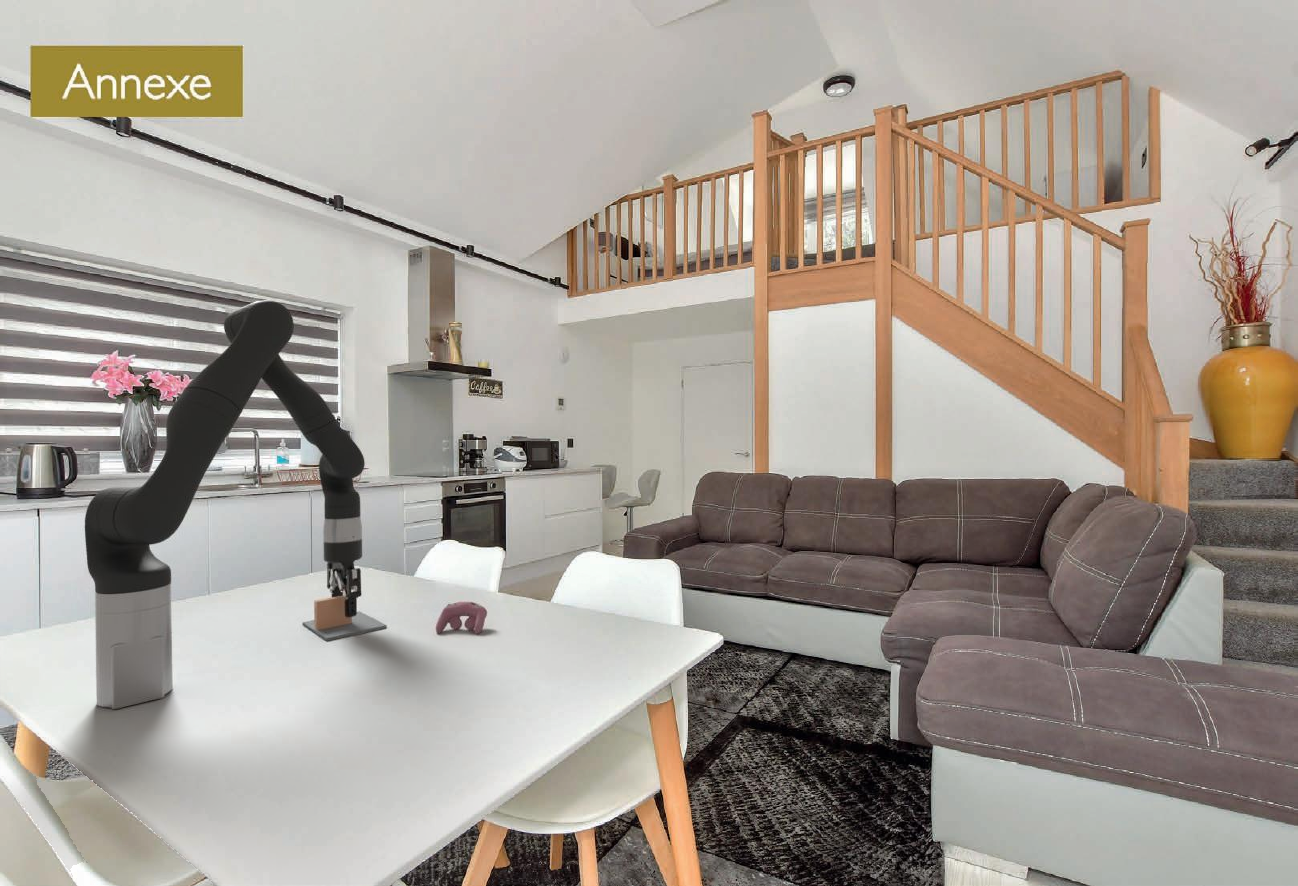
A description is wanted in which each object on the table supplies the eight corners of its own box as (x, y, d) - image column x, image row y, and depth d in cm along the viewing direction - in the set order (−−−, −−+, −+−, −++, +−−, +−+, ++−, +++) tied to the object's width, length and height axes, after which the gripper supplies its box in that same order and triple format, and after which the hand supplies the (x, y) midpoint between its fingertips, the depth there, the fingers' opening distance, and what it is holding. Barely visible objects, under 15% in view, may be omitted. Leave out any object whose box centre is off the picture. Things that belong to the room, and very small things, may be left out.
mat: (386, 627, 131) (386, 625, 131) (326, 641, 123) (326, 638, 123) (359, 613, 142) (359, 611, 142) (302, 625, 134) (302, 622, 134)
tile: (351, 595, 133) (316, 601, 128) (351, 623, 133) (316, 630, 128) (348, 594, 134) (313, 600, 129) (348, 621, 134) (314, 628, 129)
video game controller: (486, 637, 129) (490, 603, 132) (479, 633, 125) (484, 599, 128) (441, 636, 130) (446, 603, 133) (432, 632, 126) (438, 598, 129)
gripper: (373, 539, 130) (374, 615, 130) (349, 533, 140) (350, 603, 140) (335, 544, 125) (336, 623, 125) (313, 537, 135) (314, 610, 135)
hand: (343, 612), depth 132 cm, fingers open, 8 cm apart
